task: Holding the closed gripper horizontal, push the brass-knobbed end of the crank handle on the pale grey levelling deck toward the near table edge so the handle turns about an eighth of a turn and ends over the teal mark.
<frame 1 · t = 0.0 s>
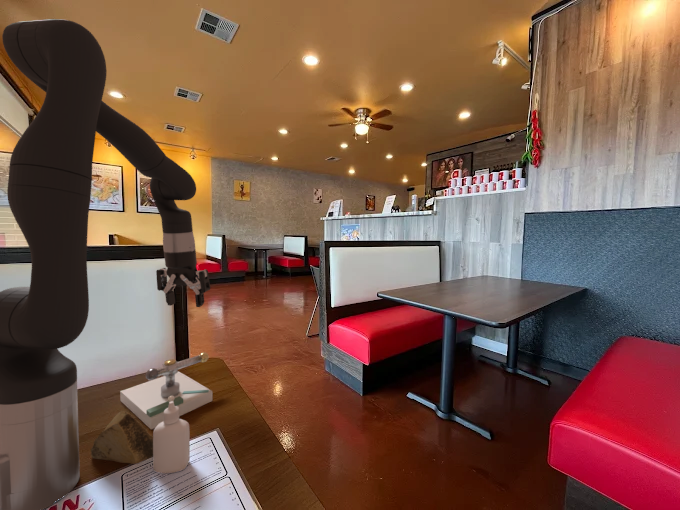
hand: (185, 305, 80), 22 cm above the table, tool pointing down, fingers open, 8 cm apart
eye dropper bottle: (171, 467, 52), on the table
crank handle: (179, 369, 73), point 8 cm above the table, hinge at 0.0°
rock: (124, 456, 54), on the table
stand: (166, 400, 72), on the table
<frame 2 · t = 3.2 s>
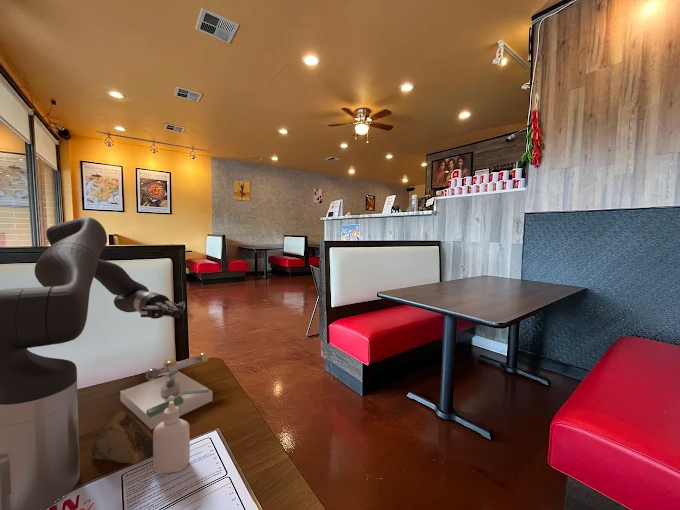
hand: (177, 314, 81), 20 cm above the table, tool horizontal, fingers closed
nothing on the table moved.
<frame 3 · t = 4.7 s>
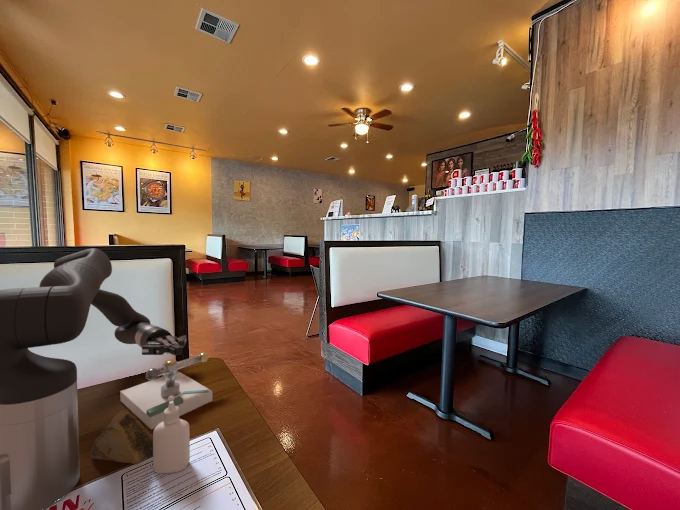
hand: (179, 351, 81), 9 cm above the table, tool horizontal, fingers closed
nothing on the table moved.
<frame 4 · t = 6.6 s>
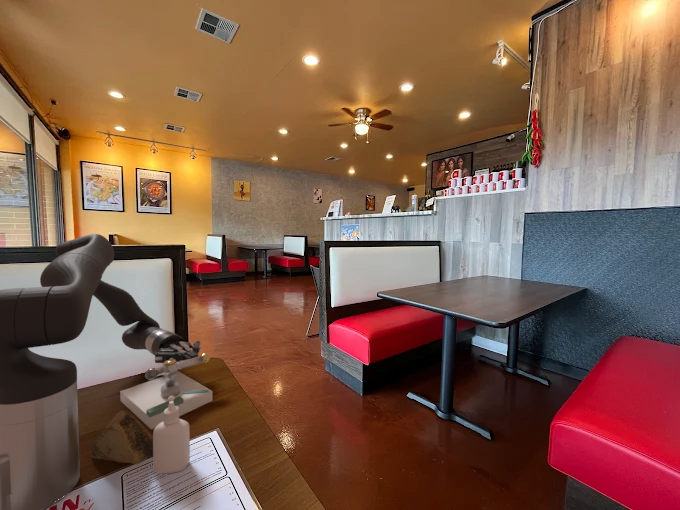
hand: (195, 359, 76), 9 cm above the table, tool horizontal, fingers closed
crank handle: (179, 370, 73), point 8 cm above the table, hinge at -4.9°, touching gripper
everything else where it was.
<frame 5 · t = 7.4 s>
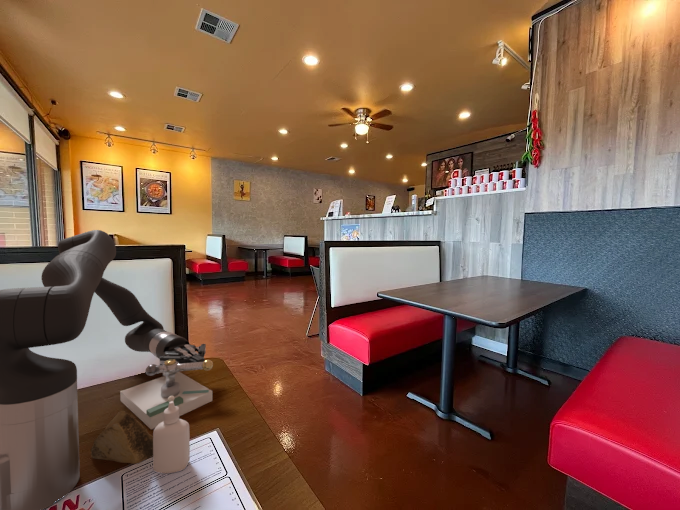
hand: (201, 363, 74), 9 cm above the table, tool horizontal, fingers closed
crank handle: (180, 372, 71), point 8 cm above the table, hinge at -39.2°, touching gripper
everything else where it was.
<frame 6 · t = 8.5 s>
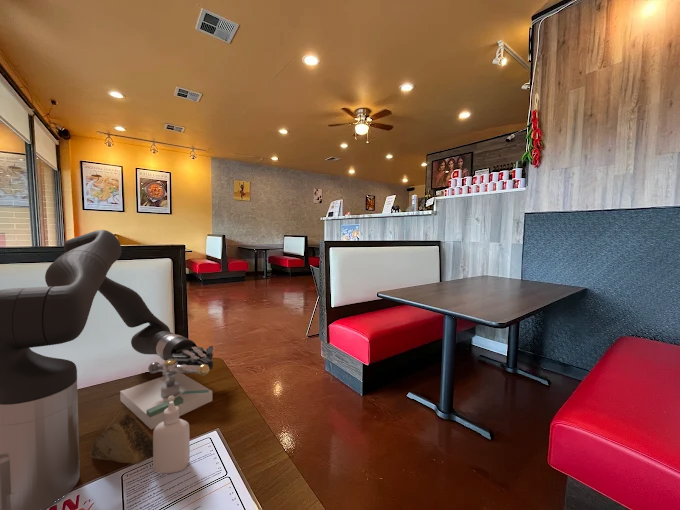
hand: (209, 366, 72), 9 cm above the table, tool horizontal, fingers closed
crank handle: (179, 373, 71), point 8 cm above the table, hinge at -57.0°, touching hand
everything else where it was.
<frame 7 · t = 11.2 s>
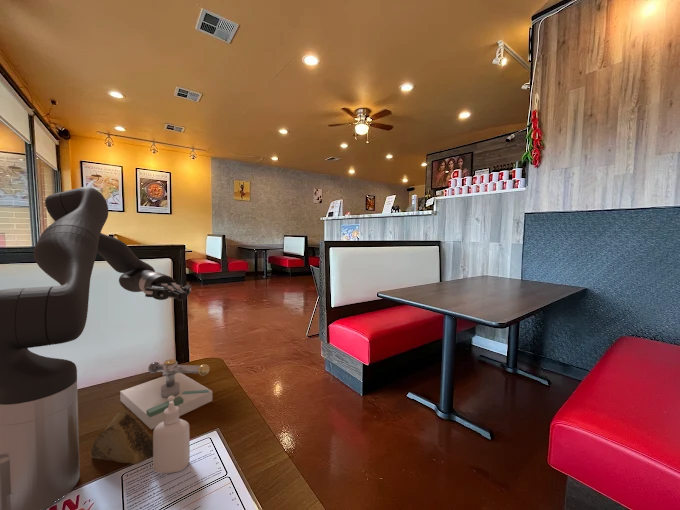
hand: (183, 296, 79), 25 cm above the table, tool horizontal, fingers closed
crank handle: (179, 373, 71), point 8 cm above the table, hinge at -57.1°
everything else where it was.
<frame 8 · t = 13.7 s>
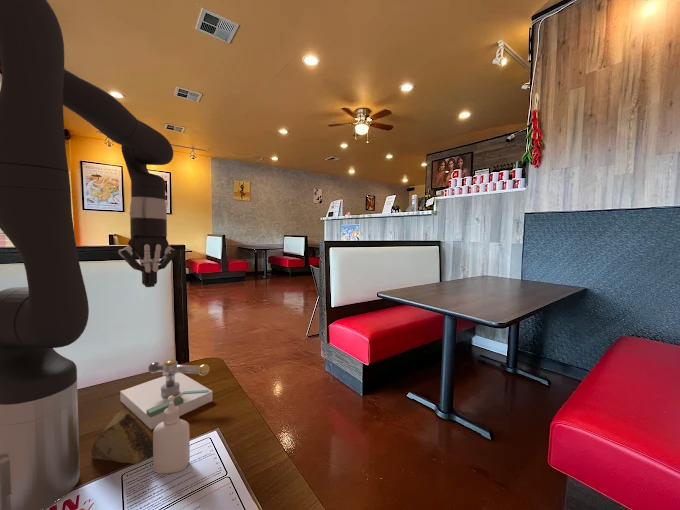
hand: (149, 286, 72), 29 cm above the table, tool pointing down, fingers closed
nothing on the table moved.
at the end: crank handle at -57° (first picture: +0°) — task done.
